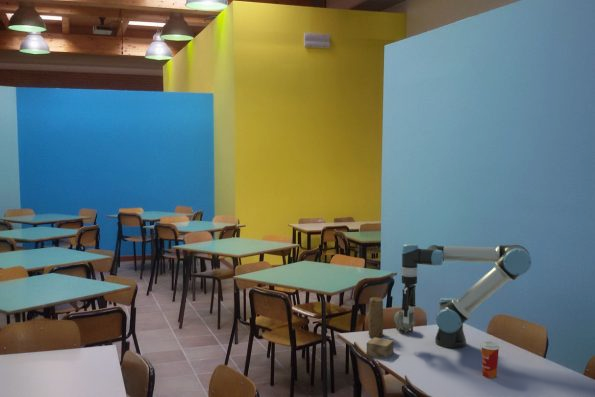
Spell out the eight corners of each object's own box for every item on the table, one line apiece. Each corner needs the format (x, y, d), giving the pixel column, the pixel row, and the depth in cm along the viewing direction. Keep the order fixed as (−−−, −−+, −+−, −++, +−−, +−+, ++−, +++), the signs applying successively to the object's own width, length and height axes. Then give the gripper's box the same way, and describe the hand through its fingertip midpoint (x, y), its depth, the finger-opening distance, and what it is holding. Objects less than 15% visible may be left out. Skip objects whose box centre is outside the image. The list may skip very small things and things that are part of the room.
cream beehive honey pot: (401, 325, 317) (402, 306, 316) (423, 333, 303) (423, 313, 302) (387, 328, 311) (387, 308, 311) (408, 336, 297) (408, 315, 296)
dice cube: (404, 323, 277) (405, 313, 277) (398, 320, 281) (399, 310, 281) (413, 322, 279) (413, 312, 279) (406, 319, 284) (407, 309, 283)
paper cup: (477, 372, 247) (478, 340, 246) (495, 372, 247) (496, 341, 246) (483, 379, 239) (483, 346, 238) (501, 379, 239) (502, 346, 238)
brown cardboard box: (393, 352, 273) (393, 340, 272) (386, 358, 264) (386, 346, 263) (373, 349, 277) (374, 337, 277) (366, 355, 269) (366, 342, 268)
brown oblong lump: (383, 338, 293) (383, 300, 292) (368, 338, 294) (369, 300, 293) (382, 332, 304) (383, 295, 303) (368, 332, 305) (368, 295, 304)
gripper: (408, 271, 288) (407, 315, 290) (395, 277, 271) (394, 325, 273) (422, 272, 285) (421, 317, 286) (410, 279, 268) (409, 327, 269)
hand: (408, 321), depth 279 cm, fingers closed on dice cube, 7 cm apart
